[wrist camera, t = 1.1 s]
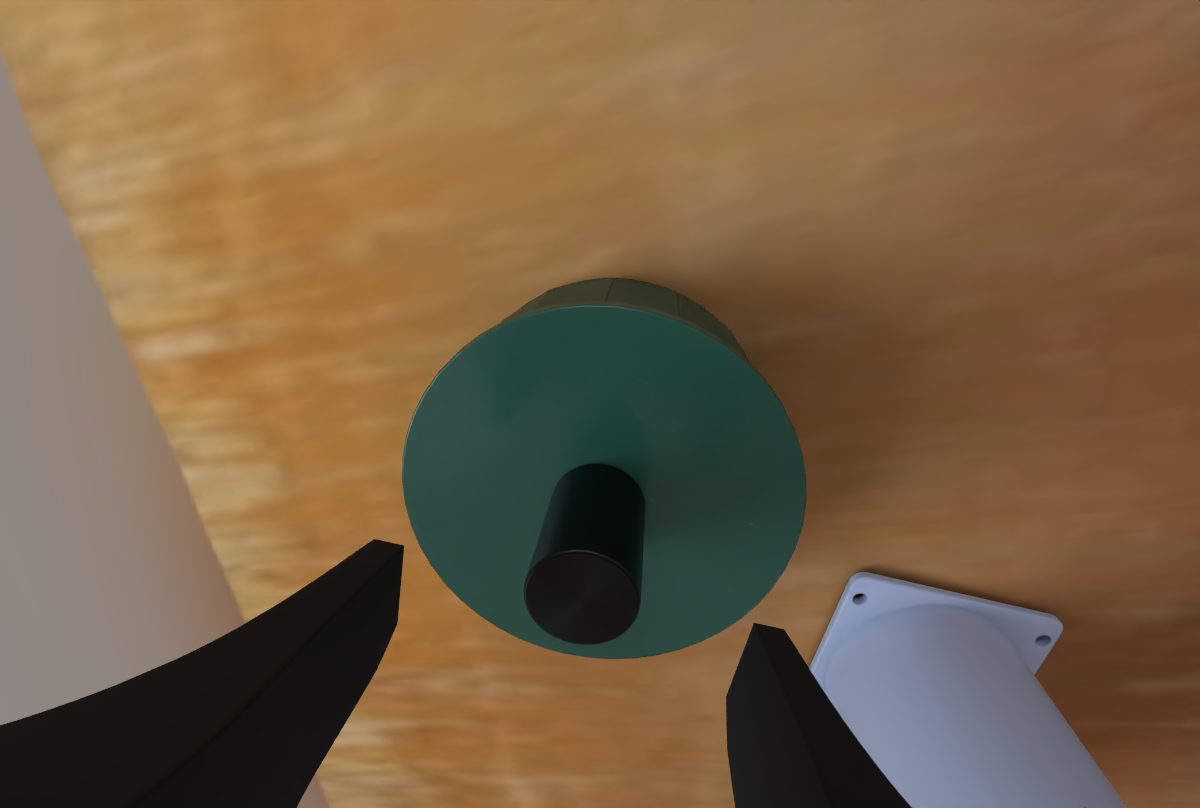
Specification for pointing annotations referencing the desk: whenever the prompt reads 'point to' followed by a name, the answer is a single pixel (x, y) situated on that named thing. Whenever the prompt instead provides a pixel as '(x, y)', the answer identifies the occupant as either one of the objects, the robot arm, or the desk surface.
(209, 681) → the robot arm
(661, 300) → the pot
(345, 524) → the desk surface
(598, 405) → the lid
